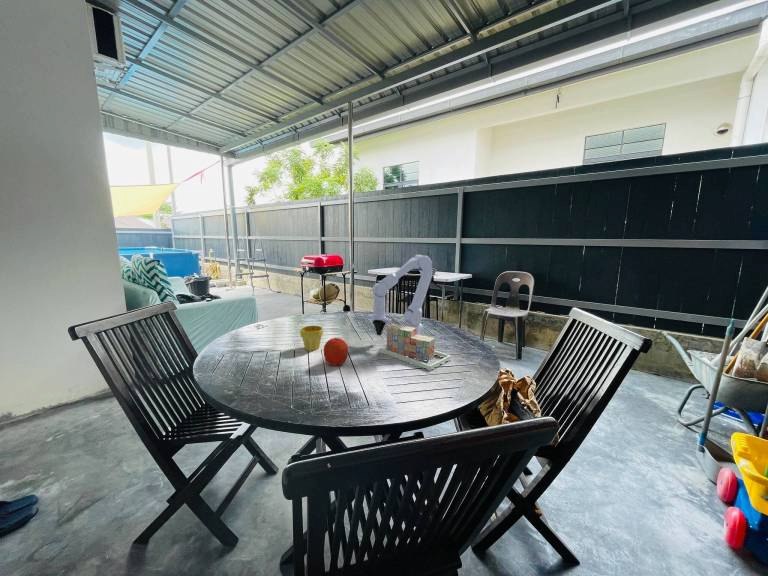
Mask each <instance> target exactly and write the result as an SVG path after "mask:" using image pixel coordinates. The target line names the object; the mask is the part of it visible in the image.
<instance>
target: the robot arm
mask: <svg viewBox="0 0 768 576" xmlns="http://www.w3.org/2000/svg"><path fill="white" fill-rule="evenodd" d="M411 270H418V271H419V272H420V278H419V280H418V284H417V287H416V290H415V292H414V295H413V298H412V301H411V304H410V305H409V306H408V307H407V310H405V312H404V313H403V319H405V322H404V323H405V325H404V326H408V327H414V328H416V335H422V336H424V325H423V324H422V323H421V322H422V319H423V318H422V316H423V315H422V314H423V308H422V306H423V305H424V301H425V298H426V295H427V292H428V289H429V286H430V285H431V284H430V283H431V281H432V278H433V274H434V273H433V261H432V259H431V258H430V257H429V255H422V254H415V255H414V256H413V257H411V258H410V259H409V260H407V262H405V263H404V264H403V265H402V266H401V267H400V268H399V269H397V270H396V271H395V272H394V273H392V272H390V273H386V275H385V277H384V278H383V279H381V280H378V283H374V285H373V286H372V288H371V291H372V293H373V313H368V314H367V318H368V319H372V321H371V322H372V323H371V324H373V327H374V329H375V332H376V336H381V335H382V334H383V330H384V327H385V326H386V324H389V325H391V324H392V321H393V319H392V318H389V317H388V316H386V295H387V293H388V291H389V290H390V289H392V288H393V287H394V286H395V285H396V284H398V282H399V280H400V279H401V277H403V276H404V275H405V274H407V273H408V272H409V271H411Z"/></svg>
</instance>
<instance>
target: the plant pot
mask: <svg viewBox="0 0 768 576" xmlns="http://www.w3.org/2000/svg"><path fill="white" fill-rule="evenodd" d="M299 331H300V333H299V334H300V337H301V338H302V342H303V345H304V349H305V350H306V351H308V350H309V352H310V351H312V350H313V351H317V350H319V349H320V345H321V340H322V336H323V335H324V328H323V326H321V325H314V324H312V325H305V326H303V327H301V328H300V329H299Z"/></svg>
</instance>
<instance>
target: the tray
mask: <svg viewBox="0 0 768 576" xmlns="http://www.w3.org/2000/svg"><path fill="white" fill-rule="evenodd" d="M378 352H379V353H381V354H383V353H384V355H386V354H387V355H386V356H389V355H390V356H389V357H391V356H392V357H391V358H394V357H395V359H397V358H398V360H400V361H402V360H403V362H405V361H406V362H405V363H408V362H409V363H408V364H410V363H412V364H411V365H413V364H414V365H413V366H416V365H417V366H416V367H418V366H420V367H419V368H421V367H423V368H422V369H424V368H426V369H429V370H431V369H433V368H434V367H436V366H438V365H440V364H441V363H443V362H445V361H447V360H449V359H451V360H452V355H451V354H448V353H444V352H441V351H438V350H436V349H434V354H436V355H439V356H443V357H445V358H440V359H439V360H438V361H435V362H434V363H433V362H432V363H431V364H428V363H427V362H424V361H421V360H418V359H414V358H410V357H406V356H403V355H400V354H398V353H395V352H392V351H389V350H387V348H383V347H378ZM440 366H441V365H440ZM426 369H425V370H426ZM429 370H428V371H429ZM433 370H434V369H433ZM431 371H432V370H431Z"/></svg>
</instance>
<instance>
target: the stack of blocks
mask: <svg viewBox="0 0 768 576" xmlns="http://www.w3.org/2000/svg"><path fill="white" fill-rule="evenodd" d="M435 340H436V338H435V337H432V336H427V335H423V336H422V335H416V328H414V327H408V326H405V325H401V324H396V323H393V324H392V323H391V324H389V325H388V326H387V327H386V350H389V351H392V352H395V353H398V354H400V355H403V356H408V357H409V358H410V357H412V359H414V358H416V359H415V360H418V359H420V360H419V361H422V360H427V361H429V360H430V359H431V358H433V357H435V355H434V350H435V342H436V341H435ZM433 359H434V358H433ZM430 361H431V360H430ZM430 361H429V362H430Z"/></svg>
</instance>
